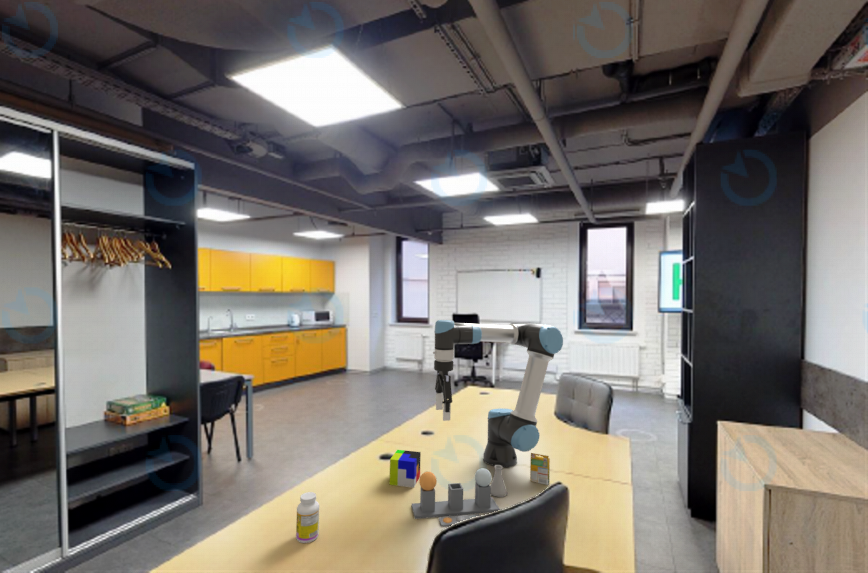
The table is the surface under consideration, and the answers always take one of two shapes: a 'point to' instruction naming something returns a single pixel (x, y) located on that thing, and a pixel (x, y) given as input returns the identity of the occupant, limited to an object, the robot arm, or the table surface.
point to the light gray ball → (483, 477)
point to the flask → (498, 483)
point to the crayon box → (539, 468)
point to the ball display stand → (454, 503)
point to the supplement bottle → (307, 518)
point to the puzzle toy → (405, 468)
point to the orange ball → (427, 481)
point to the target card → (454, 519)
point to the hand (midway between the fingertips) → (442, 414)
